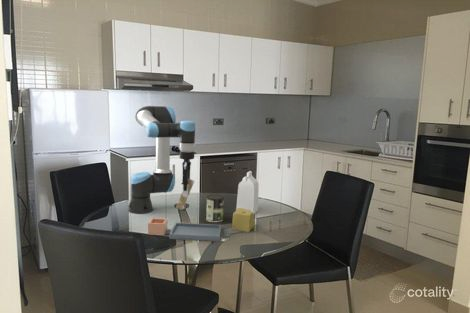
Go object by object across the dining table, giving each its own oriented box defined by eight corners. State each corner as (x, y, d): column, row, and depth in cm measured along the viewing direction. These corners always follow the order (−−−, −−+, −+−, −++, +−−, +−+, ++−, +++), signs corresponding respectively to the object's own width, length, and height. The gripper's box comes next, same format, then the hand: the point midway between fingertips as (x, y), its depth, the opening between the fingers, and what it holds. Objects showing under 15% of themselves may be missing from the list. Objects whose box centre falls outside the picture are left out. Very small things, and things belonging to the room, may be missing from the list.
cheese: (254, 227, 218) (255, 210, 217) (249, 233, 208) (250, 215, 207) (237, 224, 222) (238, 207, 220) (231, 230, 212) (231, 212, 210)
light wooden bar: (175, 209, 199) (177, 179, 197) (177, 207, 203) (178, 177, 200) (191, 210, 199) (193, 180, 197) (192, 208, 203) (194, 178, 200)
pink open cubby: (147, 234, 199) (148, 223, 198) (151, 228, 207) (151, 218, 207) (164, 235, 199) (164, 224, 198) (167, 229, 207) (167, 218, 207)
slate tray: (169, 238, 194) (169, 234, 194) (175, 226, 212) (175, 222, 212) (219, 241, 194) (219, 236, 194) (221, 229, 212) (221, 224, 212)
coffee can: (224, 217, 232) (225, 195, 230) (220, 223, 222) (221, 199, 220) (208, 216, 234) (209, 193, 232) (203, 221, 224) (204, 197, 222)
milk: (253, 215, 240) (255, 174, 236) (235, 212, 244) (237, 172, 240) (258, 210, 251) (260, 171, 247) (241, 207, 255) (243, 169, 251)
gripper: (192, 153, 188) (191, 199, 192) (196, 149, 204) (194, 191, 208) (177, 153, 188) (176, 199, 192) (182, 148, 205) (181, 191, 208)
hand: (185, 195), depth 200 cm, fingers closed on light wooden bar, 4 cm apart
